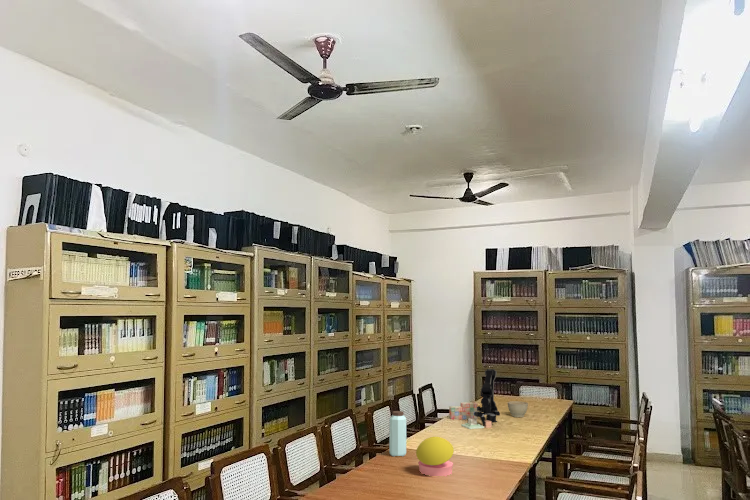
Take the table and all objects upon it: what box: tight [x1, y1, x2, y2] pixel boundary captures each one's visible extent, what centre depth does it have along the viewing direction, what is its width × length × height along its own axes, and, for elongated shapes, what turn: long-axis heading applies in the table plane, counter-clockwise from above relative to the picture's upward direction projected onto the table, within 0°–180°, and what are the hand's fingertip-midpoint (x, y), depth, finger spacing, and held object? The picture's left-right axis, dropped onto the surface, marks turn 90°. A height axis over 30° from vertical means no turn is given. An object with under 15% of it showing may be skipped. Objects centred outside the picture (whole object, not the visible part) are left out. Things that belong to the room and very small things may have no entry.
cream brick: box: [467, 418, 478, 425], centre depth 423 cm, size 4×4×4 cm
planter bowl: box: [507, 400, 529, 418], centre depth 466 cm, size 16×16×11 cm
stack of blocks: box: [448, 401, 479, 420], centre depth 455 cm, size 21×6×12 cm, turn 96°
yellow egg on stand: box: [415, 436, 455, 477], centre depth 306 cm, size 20×18×20 cm
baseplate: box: [461, 422, 485, 430], centre depth 423 cm, size 12×12×2 cm
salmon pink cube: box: [484, 419, 493, 429], centre depth 423 cm, size 4×4×4 cm
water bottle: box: [388, 410, 407, 457], centre depth 342 cm, size 10×10×25 cm
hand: (487, 425), depth 422 cm, fingers open, 5 cm apart
